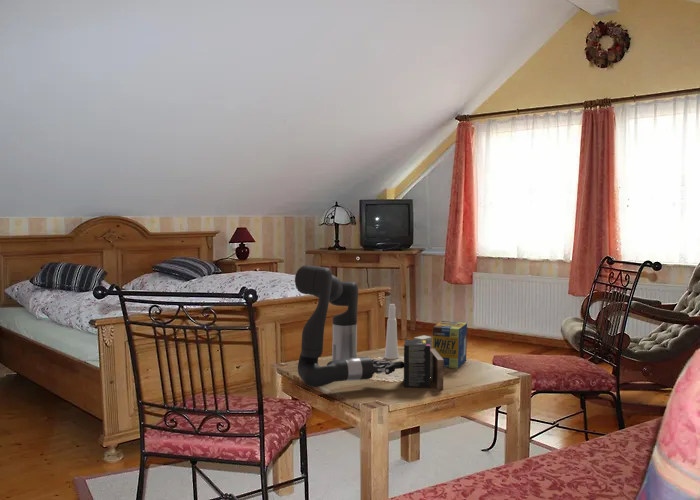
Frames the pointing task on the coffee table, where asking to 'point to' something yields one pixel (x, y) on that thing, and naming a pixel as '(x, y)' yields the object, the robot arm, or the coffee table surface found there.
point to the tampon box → (417, 363)
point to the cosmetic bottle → (391, 335)
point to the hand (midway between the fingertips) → (402, 364)
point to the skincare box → (424, 339)
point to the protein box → (450, 342)
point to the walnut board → (437, 369)
